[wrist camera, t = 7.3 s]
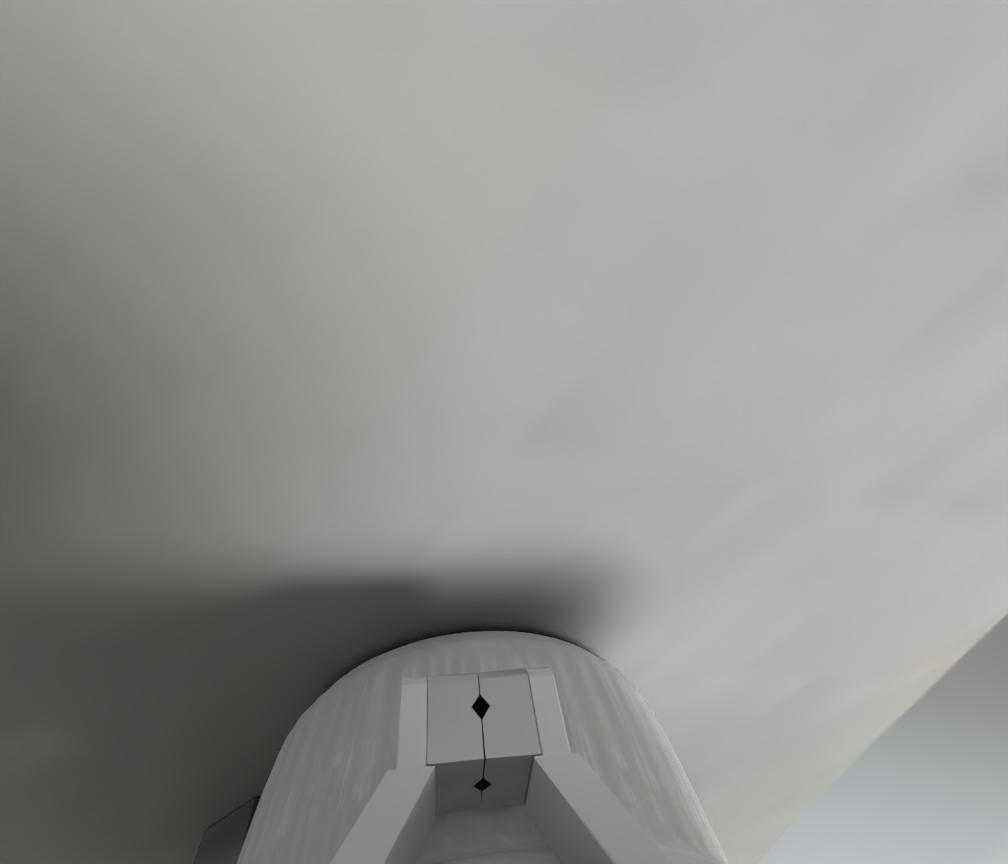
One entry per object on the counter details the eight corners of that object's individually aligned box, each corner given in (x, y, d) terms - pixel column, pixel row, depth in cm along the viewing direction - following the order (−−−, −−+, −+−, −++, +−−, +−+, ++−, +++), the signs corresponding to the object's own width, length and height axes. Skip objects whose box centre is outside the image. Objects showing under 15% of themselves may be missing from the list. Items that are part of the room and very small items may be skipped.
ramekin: (657, 782, 20) (748, 1049, 14) (338, 846, 20) (297, 1146, 14) (671, 553, 13) (857, 886, 7) (181, 645, 13) (-31, 1073, 7)
